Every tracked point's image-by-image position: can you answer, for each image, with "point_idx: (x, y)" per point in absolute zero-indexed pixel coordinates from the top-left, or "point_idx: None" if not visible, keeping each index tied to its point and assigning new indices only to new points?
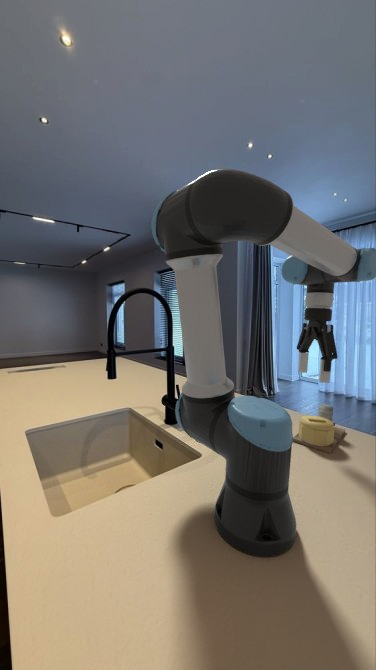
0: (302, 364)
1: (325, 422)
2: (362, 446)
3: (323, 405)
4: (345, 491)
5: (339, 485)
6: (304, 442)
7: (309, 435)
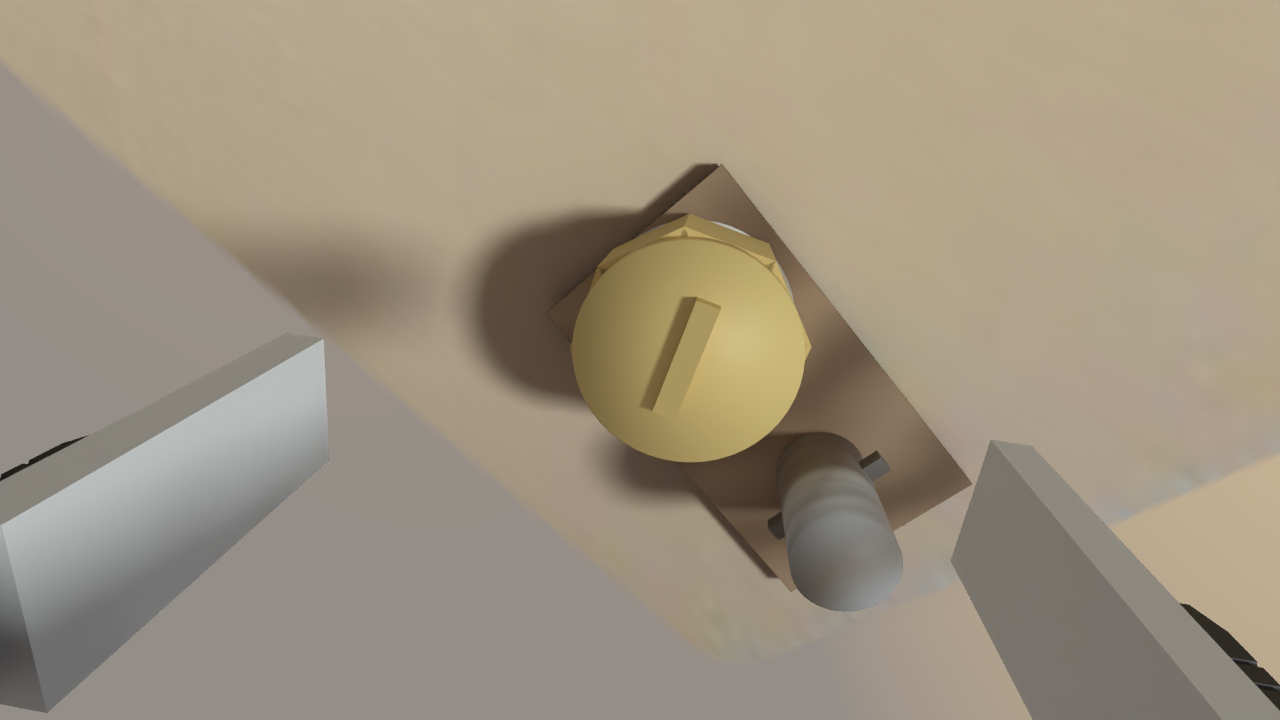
0: (1035, 569)
1: (654, 404)
2: (619, 542)
3: (872, 562)
4: (230, 146)
5: (272, 150)
6: (659, 217)
7: (632, 245)
